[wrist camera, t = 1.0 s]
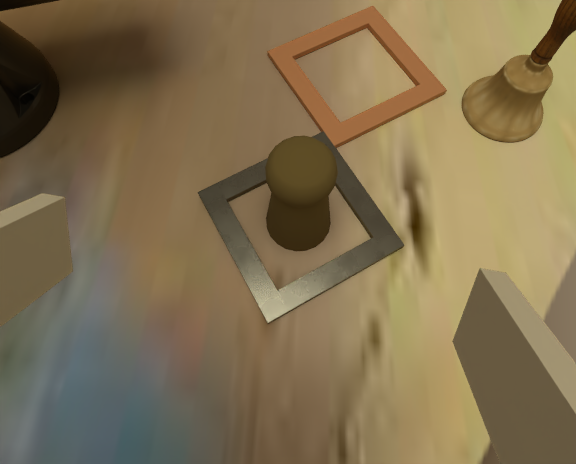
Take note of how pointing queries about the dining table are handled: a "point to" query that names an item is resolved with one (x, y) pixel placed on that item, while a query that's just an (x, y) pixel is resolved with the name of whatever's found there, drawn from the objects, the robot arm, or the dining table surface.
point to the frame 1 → (376, 115)
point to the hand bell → (518, 86)
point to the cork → (300, 192)
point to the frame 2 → (324, 276)
